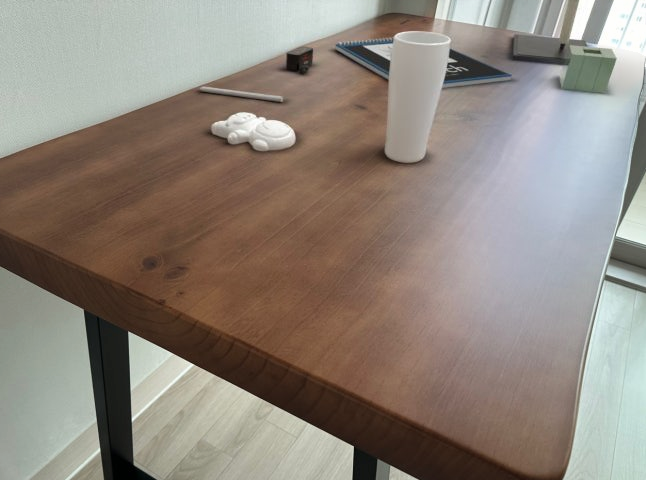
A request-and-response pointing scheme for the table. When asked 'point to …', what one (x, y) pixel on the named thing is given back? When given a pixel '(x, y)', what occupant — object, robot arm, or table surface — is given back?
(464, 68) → the sketchbook
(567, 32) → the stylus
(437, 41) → the drinking glass
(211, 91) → the pencil
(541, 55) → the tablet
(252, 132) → the white animal figurine
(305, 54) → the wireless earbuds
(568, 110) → the table surface
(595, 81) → the pen block
